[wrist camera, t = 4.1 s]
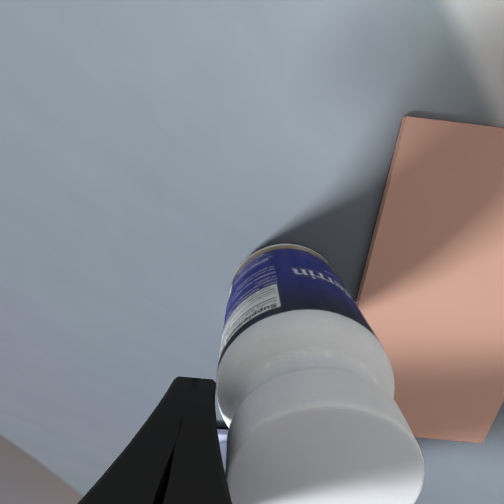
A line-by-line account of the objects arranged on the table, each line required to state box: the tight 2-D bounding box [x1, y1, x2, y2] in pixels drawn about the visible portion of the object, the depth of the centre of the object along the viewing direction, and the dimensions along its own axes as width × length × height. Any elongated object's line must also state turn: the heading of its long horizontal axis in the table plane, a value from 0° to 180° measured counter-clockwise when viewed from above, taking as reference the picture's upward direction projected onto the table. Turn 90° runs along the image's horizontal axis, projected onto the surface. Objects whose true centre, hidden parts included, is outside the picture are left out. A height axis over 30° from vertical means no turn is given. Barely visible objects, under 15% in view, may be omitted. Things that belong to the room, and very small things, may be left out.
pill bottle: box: [216, 244, 424, 504], centre depth 12 cm, size 6×6×10 cm
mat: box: [356, 116, 504, 443], centre depth 17 cm, size 18×10×1 cm, turn 174°
